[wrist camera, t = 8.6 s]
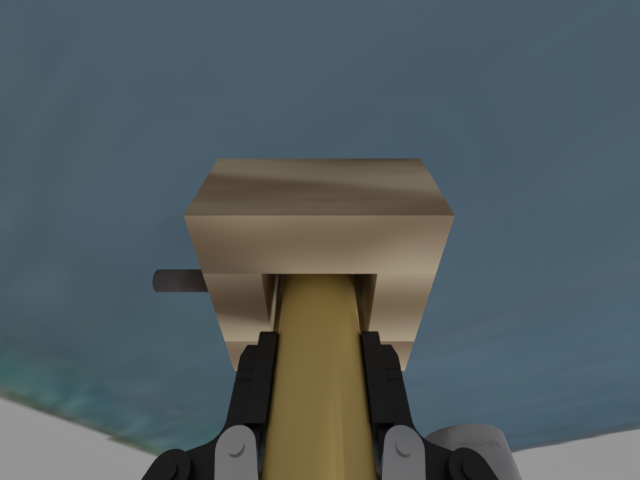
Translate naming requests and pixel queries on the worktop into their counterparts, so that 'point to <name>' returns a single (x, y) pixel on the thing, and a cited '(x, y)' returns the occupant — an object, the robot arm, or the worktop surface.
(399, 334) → the socket mount
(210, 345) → the worktop surface
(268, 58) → the worktop surface
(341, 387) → the peg
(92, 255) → the worktop surface
